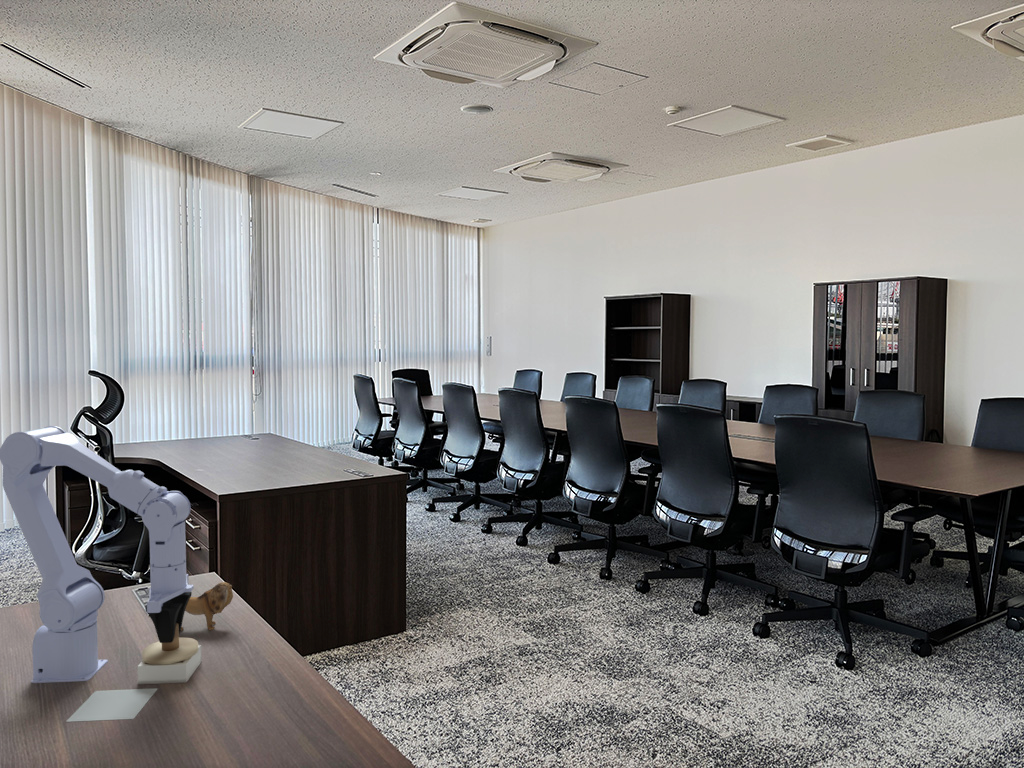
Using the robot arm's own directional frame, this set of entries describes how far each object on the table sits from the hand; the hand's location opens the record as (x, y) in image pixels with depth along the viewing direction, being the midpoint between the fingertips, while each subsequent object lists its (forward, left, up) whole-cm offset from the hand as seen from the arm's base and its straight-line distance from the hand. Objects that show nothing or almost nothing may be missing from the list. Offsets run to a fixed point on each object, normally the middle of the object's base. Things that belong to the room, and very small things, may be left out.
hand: (169, 638), depth 130 cm
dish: (0, 0, -7) cm, 7 cm away
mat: (-5, -11, -7) cm, 14 cm away
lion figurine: (-2, +22, -7) cm, 23 cm away
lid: (0, 0, -3) cm, 3 cm away
